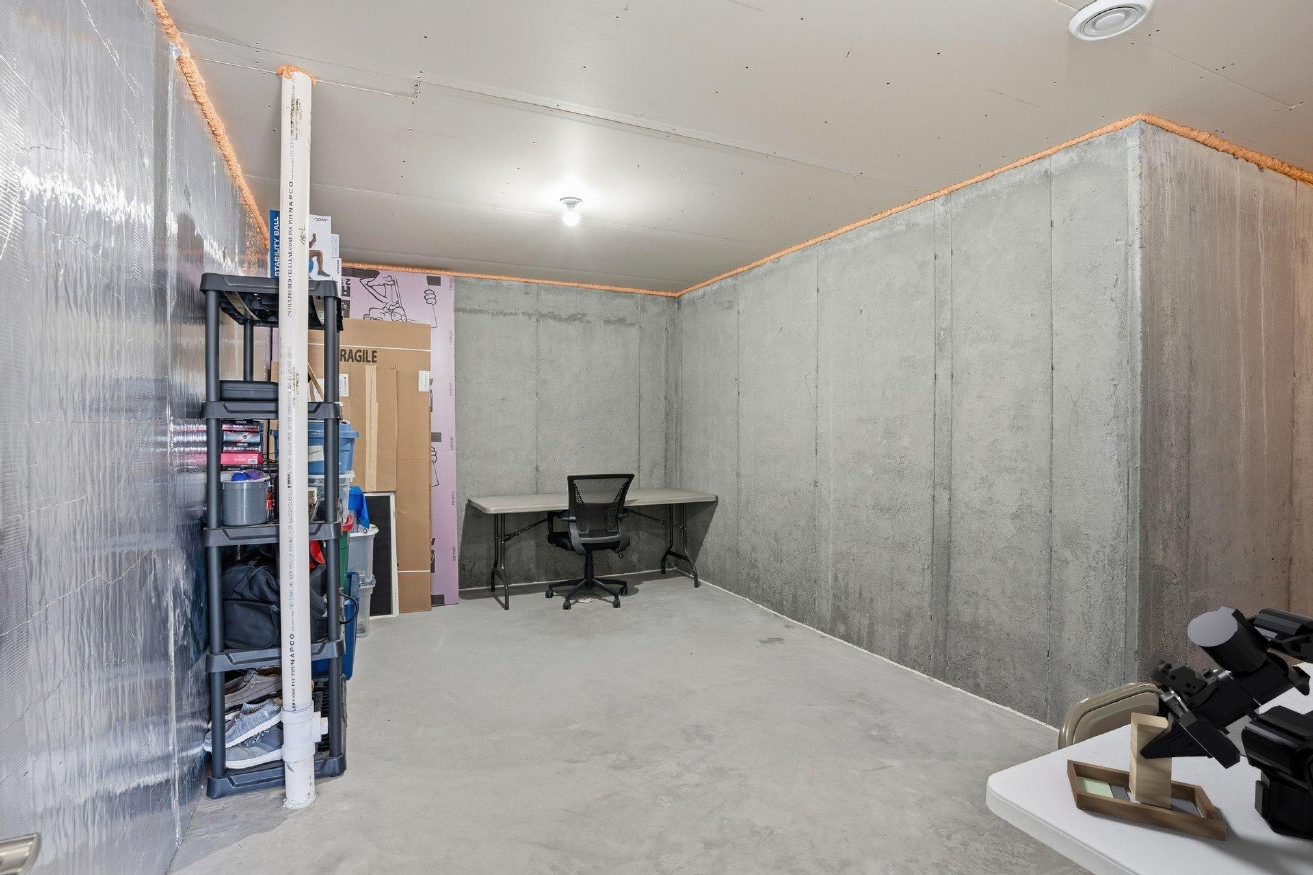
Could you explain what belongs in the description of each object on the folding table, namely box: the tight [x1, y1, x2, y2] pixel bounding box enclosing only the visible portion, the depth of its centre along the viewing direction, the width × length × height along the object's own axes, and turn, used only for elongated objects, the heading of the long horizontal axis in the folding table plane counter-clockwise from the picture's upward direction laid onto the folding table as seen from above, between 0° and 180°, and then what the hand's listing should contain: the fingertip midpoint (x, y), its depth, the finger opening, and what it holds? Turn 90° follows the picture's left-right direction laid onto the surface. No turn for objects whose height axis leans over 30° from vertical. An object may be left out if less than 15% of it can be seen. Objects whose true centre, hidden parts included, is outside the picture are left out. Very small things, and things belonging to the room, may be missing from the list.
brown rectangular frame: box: [1066, 759, 1227, 842], centre depth 94 cm, size 16×10×2 cm, turn 64°
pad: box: [1077, 776, 1115, 798], centre depth 96 cm, size 4×8×1 cm, turn 154°
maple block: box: [1129, 711, 1173, 809], centre depth 93 cm, size 4×4×11 cm
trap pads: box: [1109, 783, 1202, 817], centre depth 93 cm, size 10×8×1 cm
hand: (1138, 748), depth 94 cm, fingers closed on maple block, 4 cm apart
